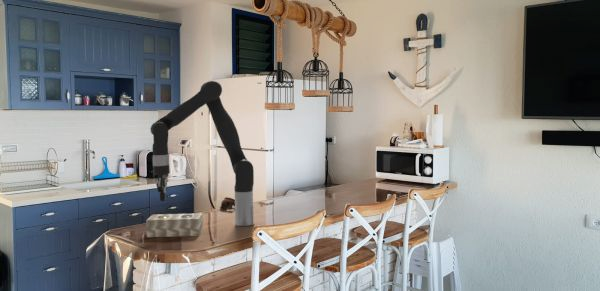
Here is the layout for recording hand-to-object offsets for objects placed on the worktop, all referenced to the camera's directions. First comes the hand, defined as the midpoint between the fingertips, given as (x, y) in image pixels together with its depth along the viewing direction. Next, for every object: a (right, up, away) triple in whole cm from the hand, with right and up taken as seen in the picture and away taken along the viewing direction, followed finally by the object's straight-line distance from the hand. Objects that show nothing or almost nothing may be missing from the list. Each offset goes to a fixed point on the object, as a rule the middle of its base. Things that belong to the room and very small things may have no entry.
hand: (162, 200), depth 227 cm
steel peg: (+11, -16, +2) cm, 19 cm away
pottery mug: (+23, -12, +54) cm, 60 cm away
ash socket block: (+6, -16, +2) cm, 17 cm away
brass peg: (0, -16, +1) cm, 16 cm away
